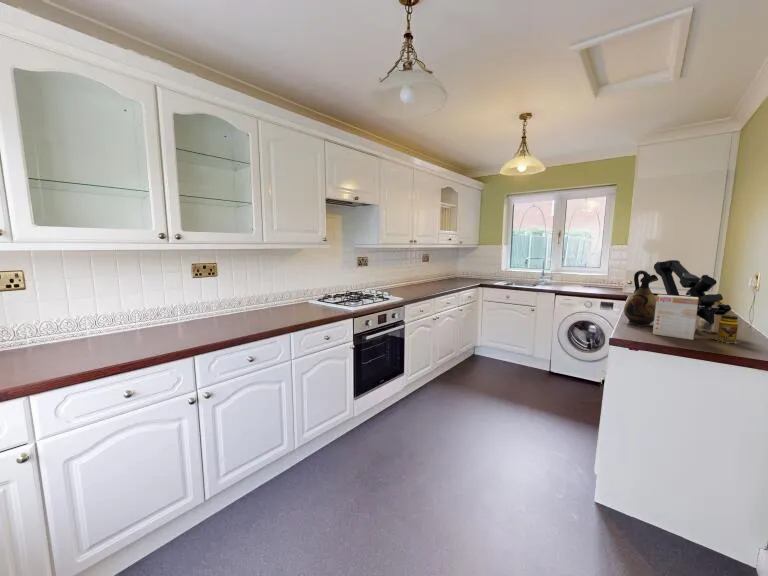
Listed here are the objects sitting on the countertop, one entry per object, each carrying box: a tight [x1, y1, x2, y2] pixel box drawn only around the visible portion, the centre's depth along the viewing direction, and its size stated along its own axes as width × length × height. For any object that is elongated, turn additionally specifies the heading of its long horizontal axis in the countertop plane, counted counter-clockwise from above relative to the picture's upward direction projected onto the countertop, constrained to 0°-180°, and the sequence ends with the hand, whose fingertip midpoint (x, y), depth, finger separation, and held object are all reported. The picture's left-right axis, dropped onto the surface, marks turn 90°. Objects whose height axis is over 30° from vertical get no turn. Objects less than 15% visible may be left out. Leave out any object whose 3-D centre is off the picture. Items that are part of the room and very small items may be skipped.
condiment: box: [716, 314, 741, 344], centre depth 153 cm, size 7×8×12 cm
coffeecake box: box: [652, 294, 698, 341], centre depth 161 cm, size 15×7×20 cm, turn 47°
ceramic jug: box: [623, 269, 659, 327], centre depth 186 cm, size 17×15×30 cm
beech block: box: [697, 317, 716, 333], centre depth 173 cm, size 5×5×6 cm
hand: (712, 323), depth 161 cm, fingers closed
